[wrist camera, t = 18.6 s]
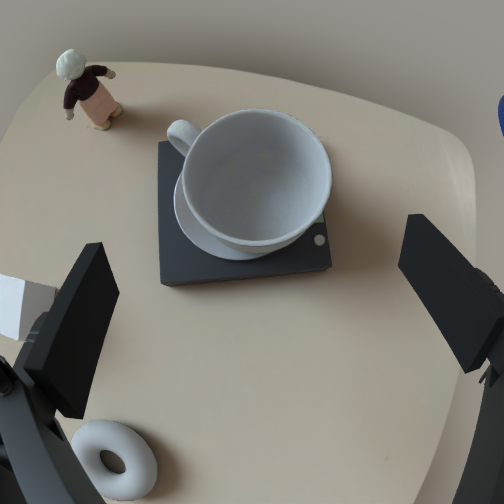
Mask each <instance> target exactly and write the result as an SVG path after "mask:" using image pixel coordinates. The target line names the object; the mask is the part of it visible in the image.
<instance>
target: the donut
mask: <svg viewBox="0 0 504 504" xmlns="http://www.w3.org/2000/svg"><path fill="white" fill-rule="evenodd" d="M71 447H72V449H73V451H74V453H75V454H76V456H77V458H78V460H79V462H80V463H81V465H82V467H83V468H84V470H85V472H86V473H87V475H88V477H89V478H90V480H91V481H92V483H93V485H94V486H95V488H96V489H97V491H98V492H99V494H101V495H103V496H104V497H106V498H110V499H113V500H117V501H134V500H136V499H139V498H142V497H144V496H145V495H146V494H147V493H148V492H149V491H150V490H152V489H153V487H154V485H155V482H156V479H157V476H158V474H157V462H156V460H155V457H154V454H153V452H152V450H151V449H150V447H149V446H148V445H147V443H146V442H145V441H144V439H143V438H142V437H140V436H139V435H138V434H137V433H136V432H135V431H133V430H132V429H130V428H128V427H126V426H124V425H122V424H120V423H118V422H114V421H109V420H96V421H90V422H88V423H86V424H85V425H83V426H81V427H80V428H79V429H78V431H77V432H76V433H75V435H74V436H73V439H72V443H71ZM102 450H110V451H112V452H114V453H116V454H117V455H118V456H119V457H121V459H122V460H123V461H124V463H125V466H126V471H125V472H124V473H123V474H117V473H114V472H112V471H110V470H108V469H107V468H106V467H105V466H104V465H103V463H102V462H101V459H100V452H101V451H102Z"/></svg>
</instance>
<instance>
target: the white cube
mask: <svg viewBox="0 0 504 504" xmlns="http://www.w3.org/2000/svg"><path fill="white" fill-rule="evenodd" d="M55 289H56V288H55V287H51V286H46V285H42V284H38V283H34V282H29V281H25V280H21V279H17V278H13V277H9V276H5V275H1V274H0V334H2V335H5V336H7V337H10V338H12V339H15V340H18V341H24V340H26V338H27V336H28V334H30V330H31V328H32V326H33V324H34V322H35V320H36V319H37V318H38V317H39V316H40V315H41V314H42V313H43V312H49V310H50V308H51V306H52V304H53V302H54V296H55Z"/></svg>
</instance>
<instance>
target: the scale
mask: <svg viewBox="0 0 504 504" xmlns="http://www.w3.org/2000/svg"><path fill="white" fill-rule="evenodd" d="M185 159H186V157H185V156H183V155H182V154H181V153H180V152H179V151H178V150H177V149H176V148H175V147H174V146H173V145H172V144H171V142H170V141H162V142H159V143H158V234H159V260H160V279H161V284H164V285H166V286H175V285H187V284H198V283H209V282H220V281H231V280H241V279H251V278H261V277H271V276H281V275H290V274H299V273H308V272H317V271H326V270H327V269H329V268H330V267H332V262H331V256H330V249H329V242H328V236H327V229H326V223H325V217H324V211H323V212H322V213H321V215H320V216H319V217H318V219H317V220H316V221H315V222H314V223H313V224H312V225H311V226H310V227H309V228H308V229H307V230H306V231H305V232H304V233H303V234H302V235H301V236H300V237H299V238H297V239H296V240H295V241H294V242H292V243H290V244H289V245H287V246H285V247H283V248H281V249H278V250H276V251H274V252H273V253H271V254H269V255H267V256H264V257H262V258H259V259H255V260H250V261H238V262H236V261H227V260H222V259H218V258H216V257H213V256H210V255H209V254H207V253H205V252H203V251H202V250H200V249H199V248H198V247H196V246H195V245H194V244H193V243H192V242H191V241H190V240H189V239H188V237H187V236H186V235H185V234H184V232H183V230H182V229H181V227H180V225H179V223H178V220H177V218H176V214H175V209H174V192H175V187H176V183H177V180H178V178H179V176H180V174H181V172H182V170H183V166H184V162H185Z"/></svg>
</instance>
